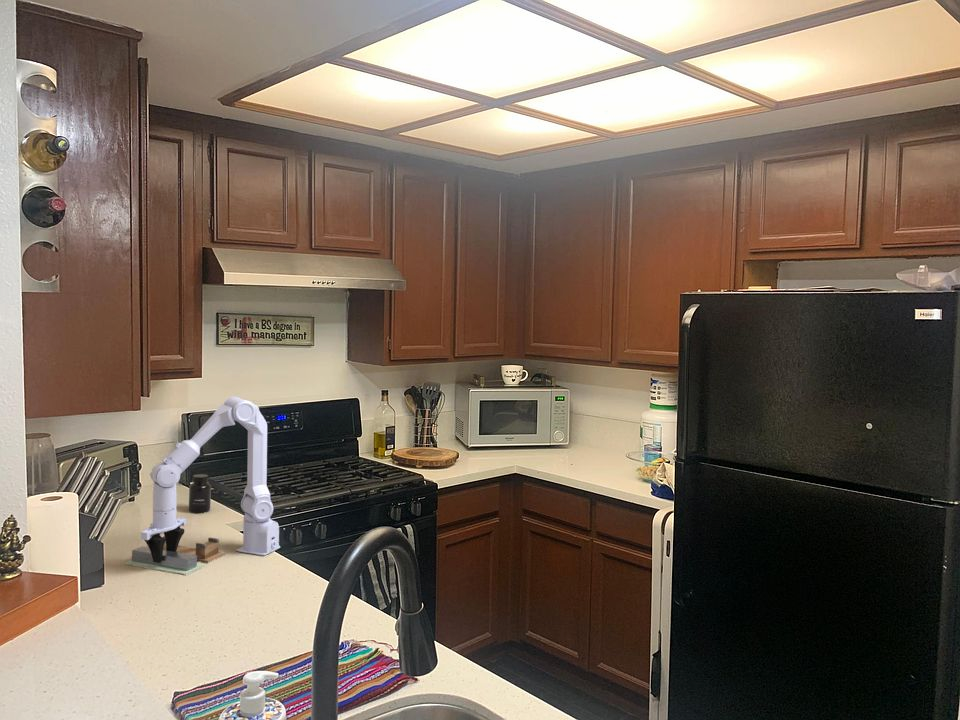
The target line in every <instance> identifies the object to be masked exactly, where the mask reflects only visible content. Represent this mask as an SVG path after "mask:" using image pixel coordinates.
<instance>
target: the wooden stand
mask: <svg viewBox="0 0 960 720" xmlns="http://www.w3.org/2000/svg"><path fill="white" fill-rule="evenodd" d="M162 537H164V538H165V536H164V535H163V536H162ZM207 539H208V540H207V542H204V543H202V542H201V543H200V542H196V543H195V547H192V546H191V547H189V546H185V545H179V544H178V547H177V551H176V552H179V553H185V554H191V555H197V562H198V561H201V562H200V563H204V562H206V564H209V563H211V562H213V561H215V560H217V558H218V559H219V557H220V558H222V557H224V556H225V555H226V553H225V552H221V551H220V549H219V548H220V547H219V546H220V545H219V542H220V540H219V538H216V537H215V538H214V537H208V538H207ZM163 550H166V541H165V543H164V547H163ZM223 555H224V556H223ZM221 556H222V557H221ZM214 559H215V560H214ZM212 560H213V561H212ZM210 561H211V562H210ZM208 562H209V563H208Z"/></svg>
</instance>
